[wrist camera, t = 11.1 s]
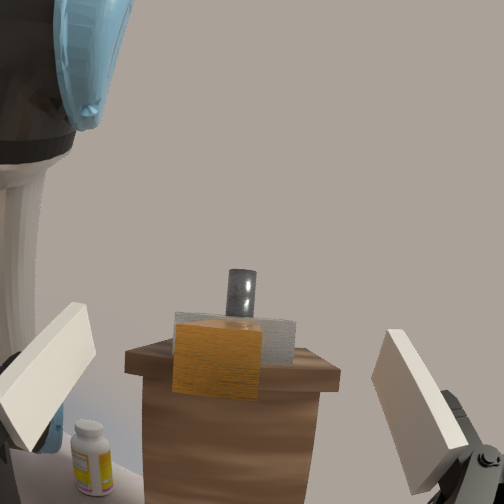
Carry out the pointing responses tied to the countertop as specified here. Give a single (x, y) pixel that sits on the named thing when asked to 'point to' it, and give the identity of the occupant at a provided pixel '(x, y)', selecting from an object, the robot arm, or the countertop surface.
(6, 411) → the robot arm
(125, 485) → the countertop surface
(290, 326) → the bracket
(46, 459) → the countertop surface
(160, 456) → the post
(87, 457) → the supplement bottle
